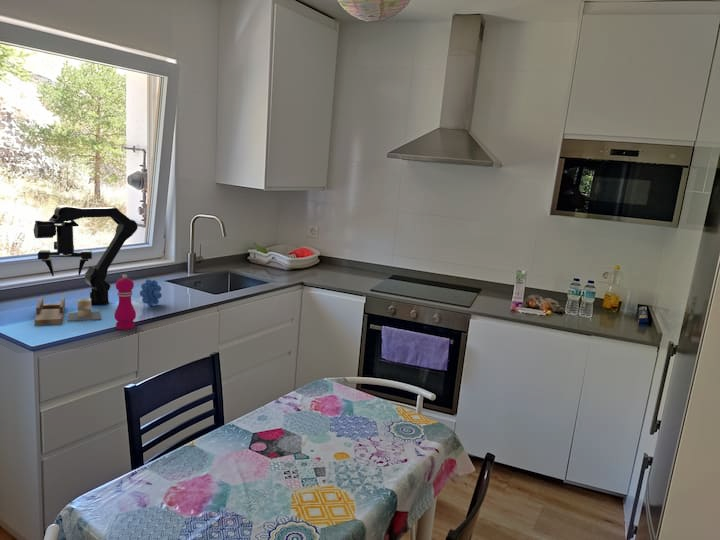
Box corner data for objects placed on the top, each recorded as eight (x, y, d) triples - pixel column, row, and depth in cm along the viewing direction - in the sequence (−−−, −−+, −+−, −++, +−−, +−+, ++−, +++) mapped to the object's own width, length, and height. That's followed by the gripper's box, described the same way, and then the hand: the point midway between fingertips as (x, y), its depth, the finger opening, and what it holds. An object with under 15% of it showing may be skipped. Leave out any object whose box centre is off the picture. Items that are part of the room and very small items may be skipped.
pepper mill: (118, 323, 193) (118, 271, 190) (138, 324, 194) (138, 272, 190) (111, 329, 186) (110, 275, 183) (132, 330, 187) (131, 276, 183)
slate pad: (100, 312, 206) (100, 311, 206) (100, 319, 196) (100, 318, 196) (68, 314, 201) (68, 312, 201) (67, 321, 191) (67, 320, 191)
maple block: (91, 313, 202) (91, 298, 201) (91, 316, 198) (90, 301, 197) (78, 313, 200) (77, 298, 199) (78, 316, 196) (77, 301, 195)
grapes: (148, 310, 213) (148, 282, 211) (136, 308, 216) (135, 280, 214) (168, 305, 224) (168, 278, 222) (156, 302, 226) (156, 275, 224)
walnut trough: (65, 307, 209) (64, 296, 209) (61, 324, 188) (61, 312, 188) (40, 308, 205) (40, 297, 205) (34, 325, 185) (34, 313, 184)
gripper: (91, 235, 217) (92, 271, 220) (39, 234, 208) (41, 272, 211) (91, 238, 207) (92, 276, 210) (36, 238, 199) (38, 277, 201)
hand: (66, 275), depth 208 cm, fingers open, 9 cm apart
